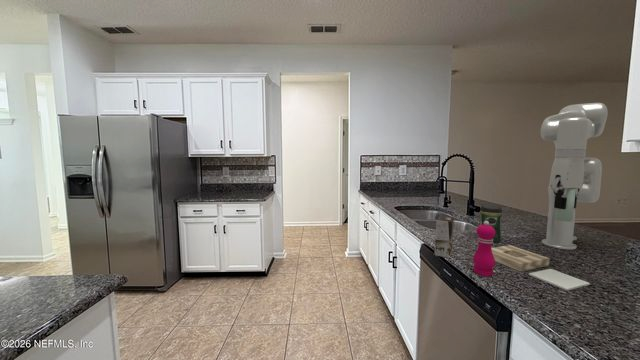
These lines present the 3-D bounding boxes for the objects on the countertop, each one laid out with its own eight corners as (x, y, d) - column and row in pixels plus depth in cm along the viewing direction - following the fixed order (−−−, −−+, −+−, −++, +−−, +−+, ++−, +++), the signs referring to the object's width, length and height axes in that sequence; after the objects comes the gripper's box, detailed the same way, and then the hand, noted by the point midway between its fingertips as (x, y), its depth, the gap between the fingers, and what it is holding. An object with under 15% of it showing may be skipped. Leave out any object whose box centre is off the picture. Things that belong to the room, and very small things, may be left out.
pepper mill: (468, 268, 105) (470, 218, 103) (485, 267, 105) (488, 218, 103) (480, 277, 98) (483, 223, 96) (499, 276, 98) (502, 223, 96)
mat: (550, 270, 103) (550, 268, 103) (589, 284, 92) (590, 283, 92) (528, 274, 99) (528, 273, 99) (566, 290, 88) (567, 289, 88)
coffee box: (450, 258, 115) (452, 221, 113) (434, 255, 118) (435, 219, 117) (452, 251, 123) (454, 217, 121) (437, 248, 126) (438, 215, 124)
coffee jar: (500, 239, 139) (502, 204, 137) (501, 243, 132) (503, 206, 130) (478, 236, 144) (480, 202, 142) (478, 240, 138) (480, 204, 135)
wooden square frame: (509, 251, 122) (509, 245, 122) (548, 265, 107) (549, 258, 107) (482, 255, 117) (483, 249, 117) (520, 271, 102) (520, 263, 102)
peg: (560, 217, 96) (563, 187, 95) (575, 220, 92) (578, 189, 91) (551, 218, 94) (554, 187, 93) (567, 222, 90) (570, 189, 89)
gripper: (572, 154, 97) (568, 204, 99) (540, 155, 92) (536, 207, 94) (599, 155, 90) (594, 208, 92) (566, 155, 85) (561, 212, 86)
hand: (564, 207), depth 93 cm, fingers closed on peg, 4 cm apart
